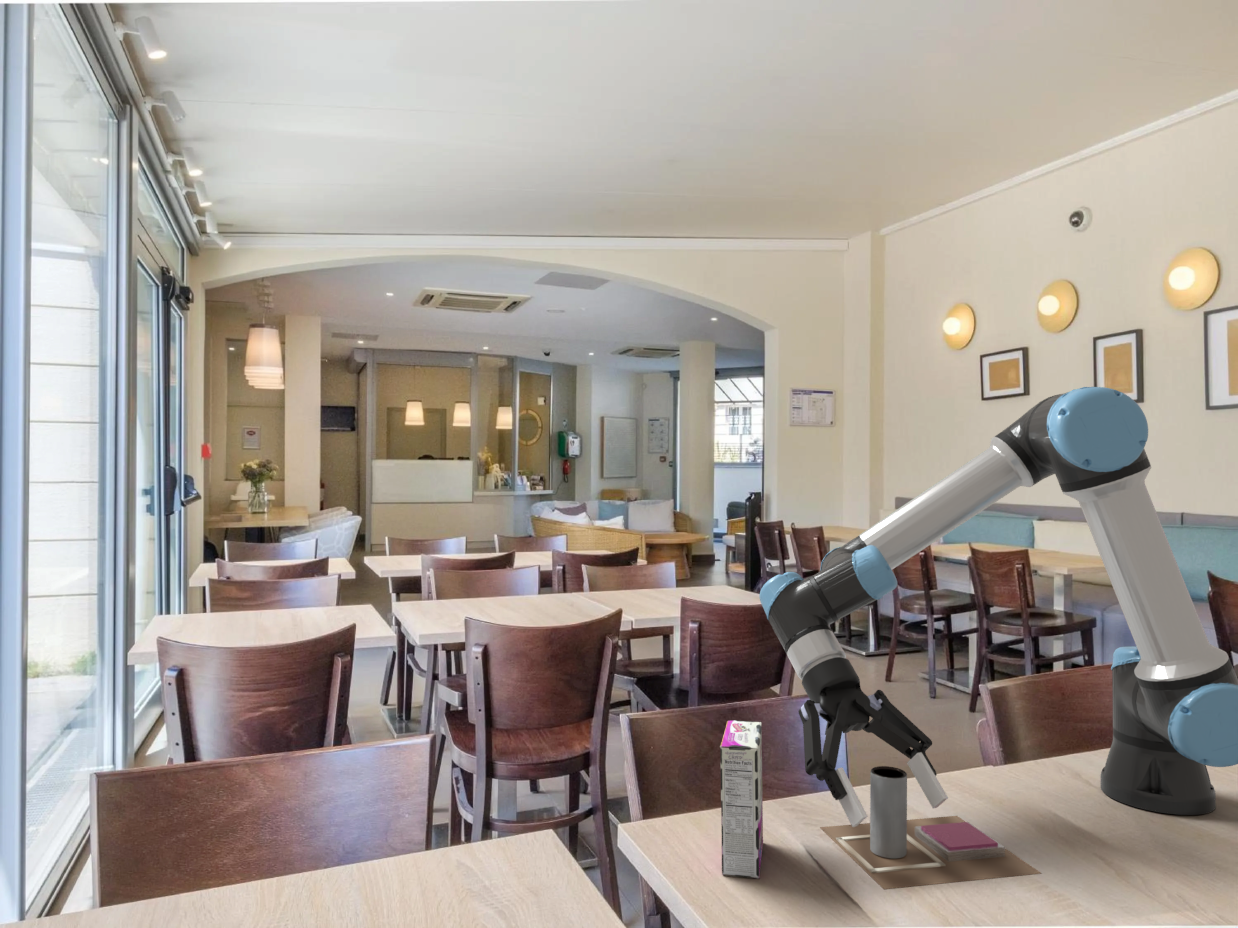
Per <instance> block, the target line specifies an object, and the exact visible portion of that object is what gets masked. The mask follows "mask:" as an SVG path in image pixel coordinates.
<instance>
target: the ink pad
mask: <svg viewBox="0 0 1238 928" xmlns="http://www.w3.org/2000/svg"><path fill="white" fill-rule="evenodd" d="M915 836H916V837H917V838H919V839H920V840H921V841H922V842H924V843H925V844H926V845H928V846H929V847H930V848H931V849H933V850H934V851H935V852H936V853H938V854H939V855H940V856H942V857H943V858H944V859H945V860H947V861H948V862H951V861H962V860H972V859H983V858H993V857H1004V856H1005V849H1006V847H1005V846H1004V845H1003V844H1001V843H1000V842H998V840H996V839H994V838H992V837H991V836H990V835H988V834H986V833H985V832H984V831H982V830H980V829H979V828H978V827H976V826H974V825H973V824H972V823H970V822H968V821H965V822H960V823H949V824H937V825H925V826H916V827H915Z"/></svg>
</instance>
